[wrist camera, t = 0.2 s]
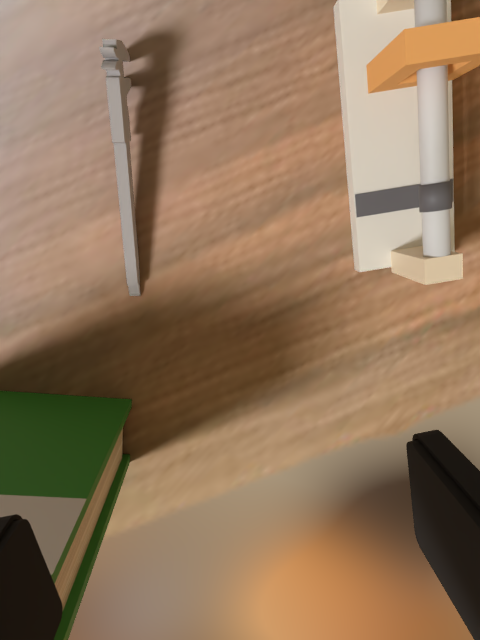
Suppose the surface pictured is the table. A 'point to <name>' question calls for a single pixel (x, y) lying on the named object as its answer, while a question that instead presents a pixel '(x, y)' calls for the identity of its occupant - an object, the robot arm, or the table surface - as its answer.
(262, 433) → the table surface
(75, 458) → the hardback book
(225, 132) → the table surface
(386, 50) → the collar
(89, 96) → the table surface
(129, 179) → the caliper
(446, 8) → the rod stand
